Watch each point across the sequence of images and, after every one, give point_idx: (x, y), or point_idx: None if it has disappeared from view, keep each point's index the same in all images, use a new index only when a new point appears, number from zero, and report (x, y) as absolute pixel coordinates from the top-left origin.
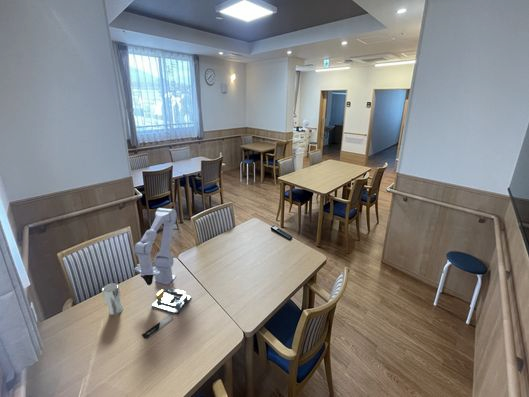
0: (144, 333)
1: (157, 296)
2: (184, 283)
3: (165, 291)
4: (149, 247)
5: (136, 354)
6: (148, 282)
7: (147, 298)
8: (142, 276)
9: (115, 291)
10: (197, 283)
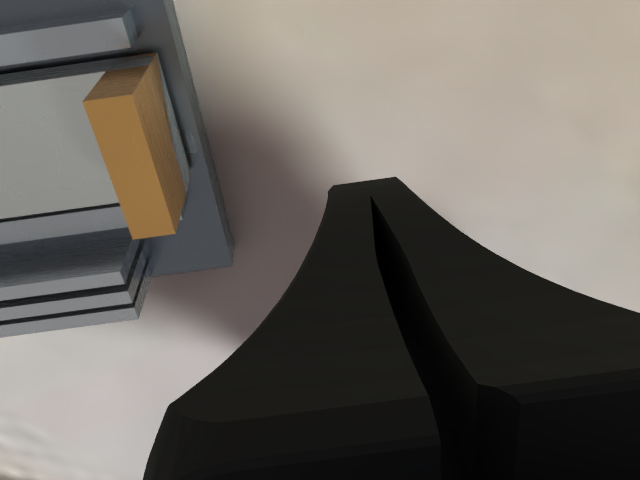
0: None
1: (118, 82)
2: (151, 416)
3: (212, 239)
4: None
5: None
6: (324, 239)
7: (388, 18)
8: (598, 398)
9: None
10: (21, 467)
